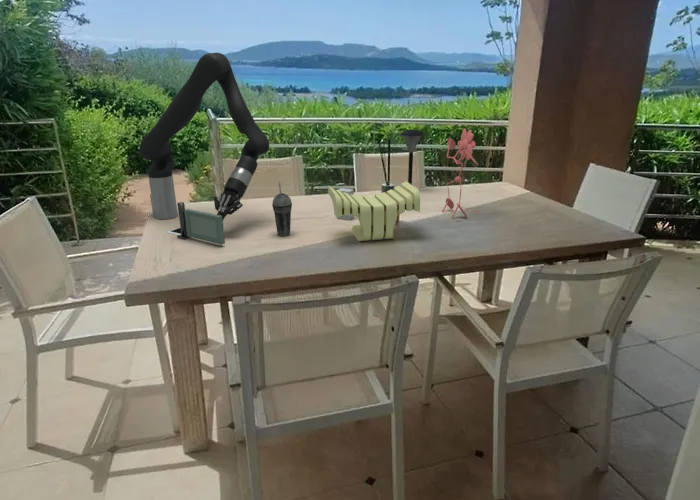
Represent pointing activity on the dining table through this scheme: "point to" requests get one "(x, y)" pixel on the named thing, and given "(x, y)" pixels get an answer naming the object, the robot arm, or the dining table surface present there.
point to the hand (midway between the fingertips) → (217, 222)
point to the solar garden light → (411, 147)
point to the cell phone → (175, 231)
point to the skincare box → (350, 191)
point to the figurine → (465, 151)
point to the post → (182, 221)
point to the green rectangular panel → (204, 226)
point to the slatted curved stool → (376, 210)
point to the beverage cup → (282, 213)
